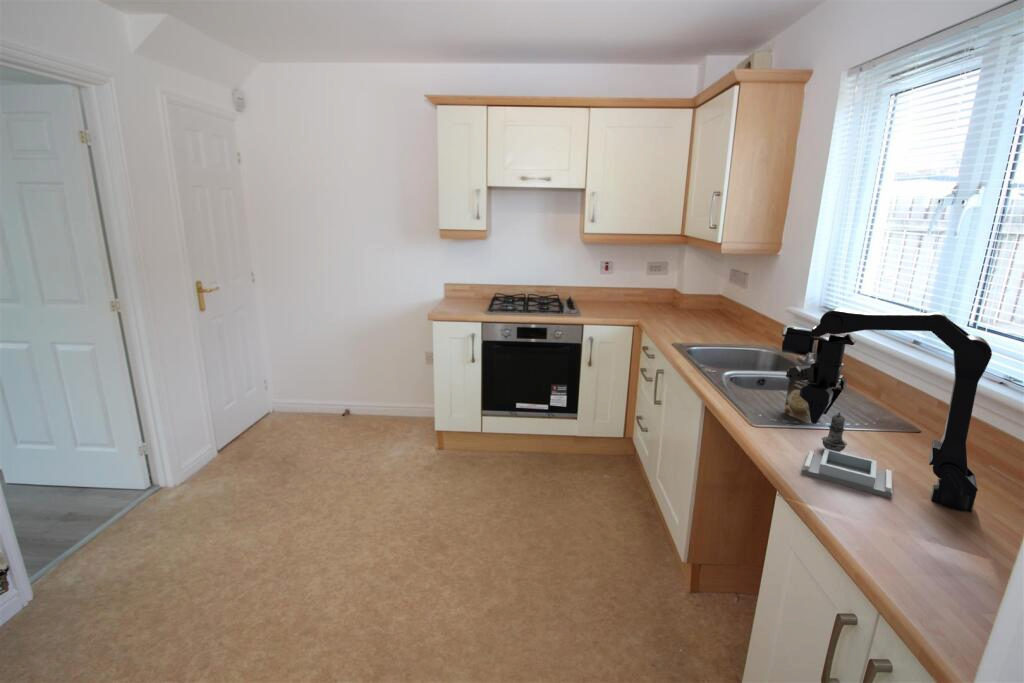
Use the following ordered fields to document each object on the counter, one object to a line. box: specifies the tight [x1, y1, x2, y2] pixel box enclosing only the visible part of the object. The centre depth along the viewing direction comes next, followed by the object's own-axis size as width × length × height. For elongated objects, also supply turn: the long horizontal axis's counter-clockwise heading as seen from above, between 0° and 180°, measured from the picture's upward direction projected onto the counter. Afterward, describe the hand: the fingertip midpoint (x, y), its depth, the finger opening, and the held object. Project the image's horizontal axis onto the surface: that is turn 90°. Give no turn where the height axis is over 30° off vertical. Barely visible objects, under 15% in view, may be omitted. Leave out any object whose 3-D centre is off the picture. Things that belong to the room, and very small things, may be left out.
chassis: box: [801, 448, 893, 499], centre depth 121 cm, size 18×12×4 cm, turn 53°
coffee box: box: [783, 380, 823, 424], centre depth 154 cm, size 9×6×16 cm
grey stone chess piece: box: [821, 412, 848, 452], centre depth 133 cm, size 6×6×12 cm
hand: (818, 418), depth 124 cm, fingers open, 9 cm apart
